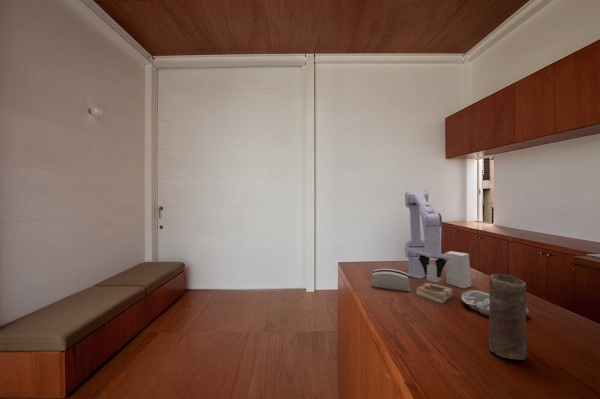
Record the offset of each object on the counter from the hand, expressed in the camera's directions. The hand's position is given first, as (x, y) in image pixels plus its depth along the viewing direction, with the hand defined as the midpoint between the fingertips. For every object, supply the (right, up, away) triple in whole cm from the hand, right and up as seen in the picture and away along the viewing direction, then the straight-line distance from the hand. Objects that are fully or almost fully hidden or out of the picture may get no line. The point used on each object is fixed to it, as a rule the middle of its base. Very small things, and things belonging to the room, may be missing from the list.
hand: (432, 275), depth 99 cm
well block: (+1, -9, +1) cm, 9 cm away
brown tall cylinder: (-1, -9, -37) cm, 38 cm away
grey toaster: (-13, -9, +11) cm, 19 cm away
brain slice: (+14, -9, -12) cm, 20 cm away
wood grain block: (+1, -2, +1) cm, 2 cm away
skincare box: (+18, -8, +12) cm, 23 cm away
